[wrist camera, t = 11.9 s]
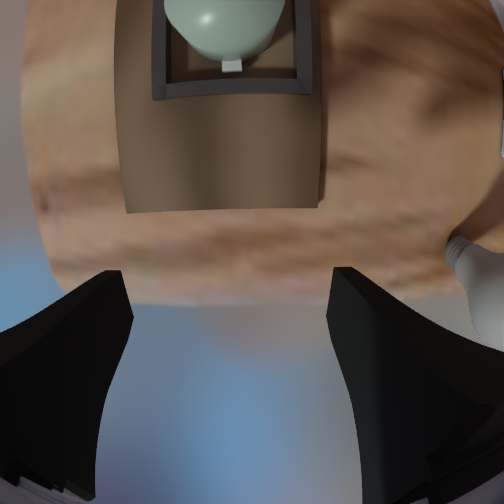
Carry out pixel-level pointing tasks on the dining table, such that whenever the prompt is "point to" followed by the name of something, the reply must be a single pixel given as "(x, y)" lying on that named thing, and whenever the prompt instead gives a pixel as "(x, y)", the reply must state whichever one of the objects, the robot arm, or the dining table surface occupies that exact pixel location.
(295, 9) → the dark grey square frame
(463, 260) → the lightbulb
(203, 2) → the pale green pear shape
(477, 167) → the dining table surface
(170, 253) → the dining table surface
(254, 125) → the board
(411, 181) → the dining table surface
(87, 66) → the dining table surface
